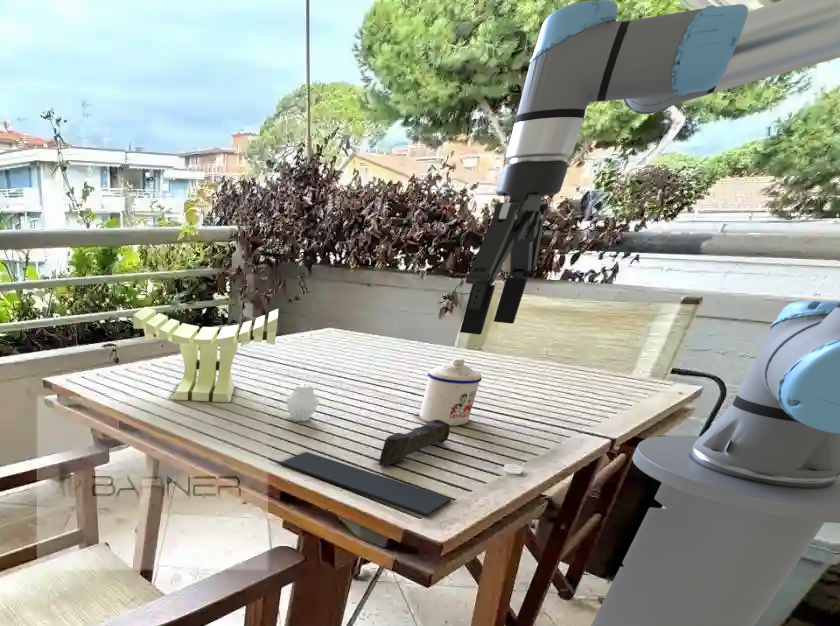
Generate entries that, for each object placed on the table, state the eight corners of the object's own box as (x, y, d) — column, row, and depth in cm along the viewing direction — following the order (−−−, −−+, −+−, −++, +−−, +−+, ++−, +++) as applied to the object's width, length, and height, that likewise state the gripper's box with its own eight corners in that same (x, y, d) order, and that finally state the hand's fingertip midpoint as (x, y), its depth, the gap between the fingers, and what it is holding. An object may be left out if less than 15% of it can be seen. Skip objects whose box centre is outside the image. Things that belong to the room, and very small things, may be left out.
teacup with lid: (454, 429, 102) (472, 367, 97) (408, 418, 109) (422, 358, 103) (484, 417, 109) (502, 357, 103) (439, 406, 115) (454, 350, 109)
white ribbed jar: (281, 421, 108) (285, 386, 105) (288, 412, 113) (292, 378, 110) (313, 425, 106) (318, 389, 102) (318, 416, 111) (323, 381, 107)
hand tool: (425, 438, 99) (431, 413, 97) (447, 443, 96) (454, 418, 94) (363, 463, 89) (368, 436, 87) (385, 470, 86) (391, 442, 84)
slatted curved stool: (270, 385, 132) (278, 306, 123) (268, 404, 118) (277, 317, 110) (149, 379, 138) (149, 304, 129) (134, 397, 124) (133, 314, 116)
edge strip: (450, 500, 77) (451, 498, 77) (426, 516, 73) (427, 513, 73) (306, 453, 93) (306, 451, 93) (280, 464, 89) (280, 462, 89)
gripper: (534, 167, 83) (491, 315, 93) (470, 157, 68) (427, 334, 79) (594, 164, 78) (541, 321, 88) (538, 152, 63) (483, 342, 74)
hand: (487, 327), depth 83 cm, fingers open, 13 cm apart
